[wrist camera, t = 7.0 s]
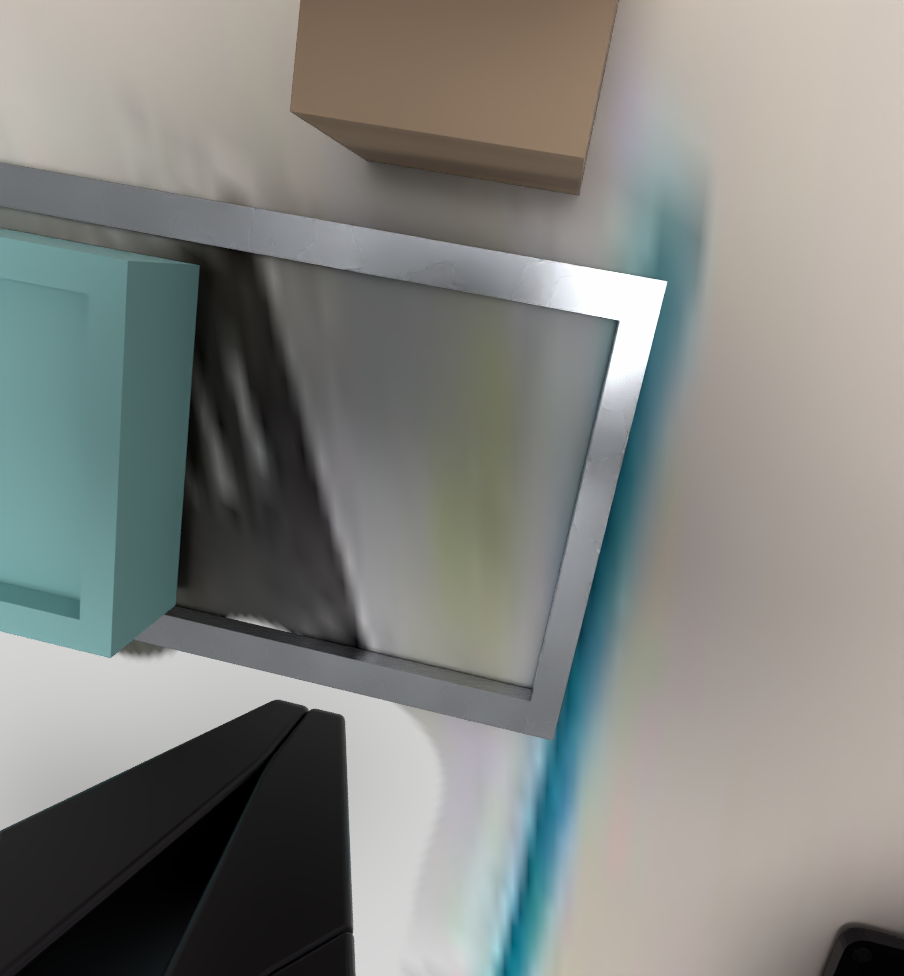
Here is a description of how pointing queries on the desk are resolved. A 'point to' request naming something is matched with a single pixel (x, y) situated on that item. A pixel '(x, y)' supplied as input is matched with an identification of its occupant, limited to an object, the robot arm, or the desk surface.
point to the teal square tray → (91, 438)
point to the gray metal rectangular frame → (427, 265)
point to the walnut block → (457, 83)
